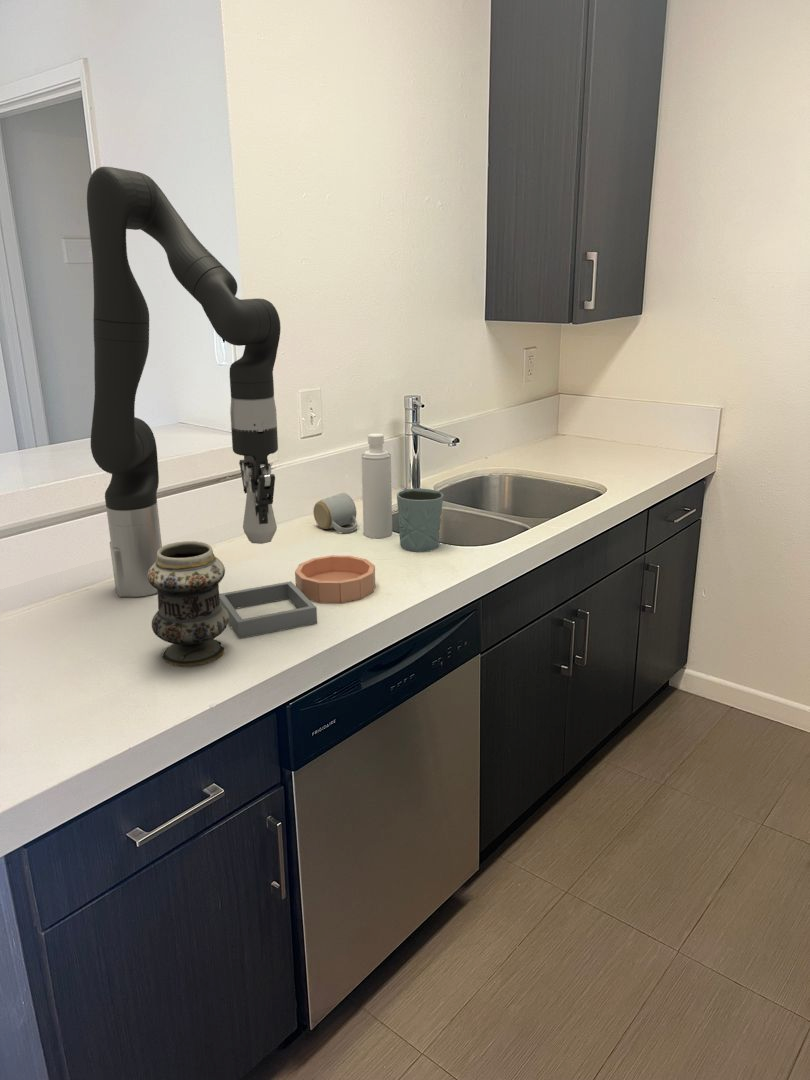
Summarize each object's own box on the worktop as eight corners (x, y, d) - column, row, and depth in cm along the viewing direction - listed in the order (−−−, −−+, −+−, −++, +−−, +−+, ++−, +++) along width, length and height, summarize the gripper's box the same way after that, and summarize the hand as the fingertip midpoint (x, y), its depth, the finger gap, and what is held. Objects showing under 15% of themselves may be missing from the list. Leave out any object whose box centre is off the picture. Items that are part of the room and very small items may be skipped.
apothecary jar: (243, 657, 133) (234, 552, 127) (169, 677, 126) (156, 567, 121) (216, 631, 142) (207, 532, 137) (146, 648, 136) (133, 545, 130)
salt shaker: (270, 546, 140) (266, 472, 136) (238, 544, 141) (233, 470, 137) (282, 536, 146) (278, 464, 142) (251, 533, 147) (247, 462, 143)
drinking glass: (388, 544, 185) (387, 493, 181) (423, 535, 191) (423, 485, 187) (416, 556, 178) (416, 502, 174) (452, 546, 183) (452, 494, 179)
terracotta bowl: (312, 608, 151) (311, 588, 150) (287, 581, 164) (285, 562, 163) (387, 594, 157) (386, 574, 156) (356, 569, 170) (356, 551, 169)
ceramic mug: (311, 526, 198) (310, 495, 196) (339, 519, 204) (338, 489, 201) (338, 537, 191) (337, 505, 188) (365, 530, 196) (365, 499, 193)
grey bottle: (369, 528, 196) (367, 424, 188) (396, 531, 194) (394, 425, 186) (359, 536, 191) (356, 429, 183) (386, 539, 188) (384, 431, 180)
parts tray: (239, 638, 139) (237, 622, 138) (218, 609, 151) (217, 594, 150) (317, 623, 145) (316, 607, 144) (291, 595, 157) (291, 581, 156)
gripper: (221, 418, 141) (227, 515, 147) (243, 433, 129) (249, 537, 135) (263, 415, 145) (268, 510, 150) (288, 429, 133) (293, 531, 138)
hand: (259, 522), depth 143 cm, fingers closed on salt shaker, 3 cm apart
